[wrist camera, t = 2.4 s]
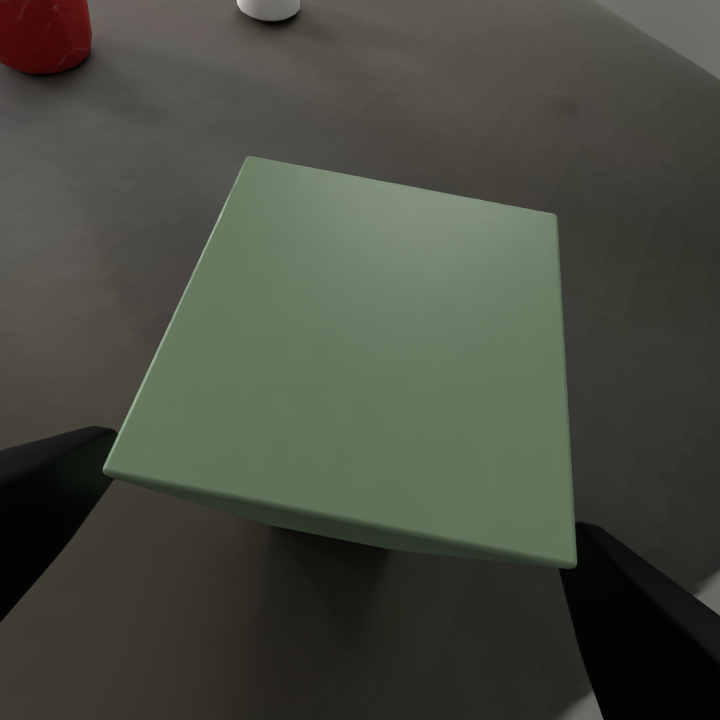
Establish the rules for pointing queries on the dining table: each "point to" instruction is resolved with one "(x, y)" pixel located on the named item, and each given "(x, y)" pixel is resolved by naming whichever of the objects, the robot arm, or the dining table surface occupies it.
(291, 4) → the white jar
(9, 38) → the water bottle
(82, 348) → the dining table surface
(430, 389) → the block
